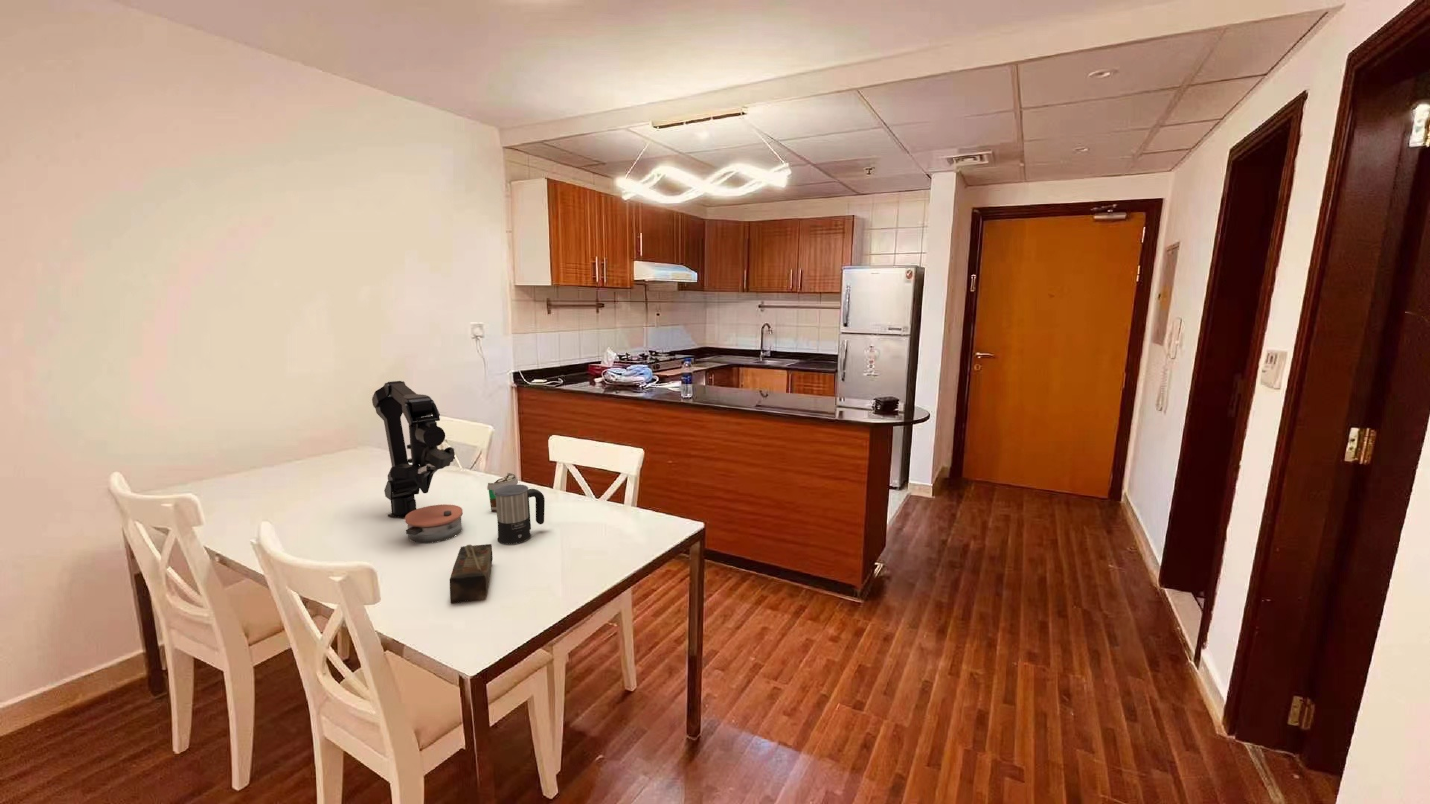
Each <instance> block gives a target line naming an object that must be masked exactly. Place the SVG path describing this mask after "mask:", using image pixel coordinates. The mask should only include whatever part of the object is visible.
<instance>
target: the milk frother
mask: <svg viewBox="0 0 1430 804" xmlns="http://www.w3.org/2000/svg"><path fill="white" fill-rule="evenodd" d="M494 494H495V495H496V508H497V512H496V518H497V519H496V520H497V542H498V543H500V544H504V545H516V544H520V543H521V544H522V543H524V542H526V541H528V540H529V539H530V538H531V537H532V534H531V530H532V524H531V510H530V498H533V497H534V498H535V522H536V523H537V524H538V525H543V524H544V523H545V502H546V501H545V499H546V498H545V496H544V494H543V493H542V492H541V491H540V490H538V489H537V488H536V489H535V488H529V487H528V485H524V484H519V483H517V484H513V485H506V486H502V487H499V488H497V489H496V490H495V491H494Z"/></svg>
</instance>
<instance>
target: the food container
mask: <svg viewBox="0 0 1430 804" xmlns="http://www.w3.org/2000/svg"><path fill="white" fill-rule="evenodd" d="M513 484H519V480H518V477H517V475H516V474H515V473H511V472H507V475H506V476H504V477H502V478H498V479H497V480H495V482H488V483H487V486H486V487H487V488H486V489H487V491H488V495H489V503H490V510H491V513H497V508H496V495H495V494H494V491H495V490H496V489H497V488H499V487H502V486H506V485H513Z"/></svg>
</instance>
